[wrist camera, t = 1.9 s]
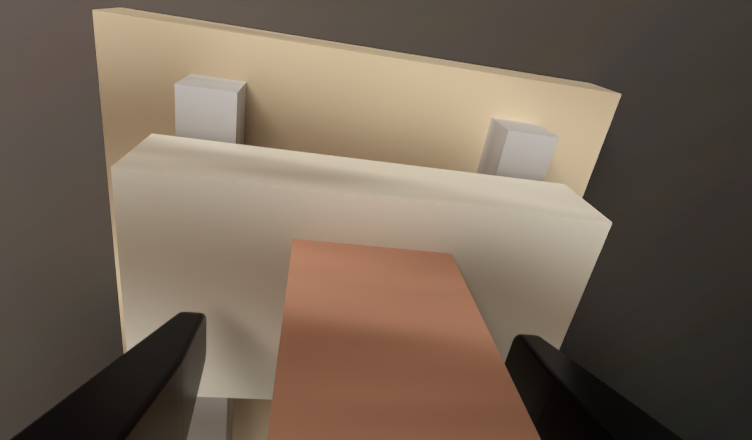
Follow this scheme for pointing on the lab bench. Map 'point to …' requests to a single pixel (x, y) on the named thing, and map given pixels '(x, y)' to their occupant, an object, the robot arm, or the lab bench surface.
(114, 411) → the robot arm
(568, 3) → the lab bench surface
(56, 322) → the lab bench surface
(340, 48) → the press bed
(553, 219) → the slider
